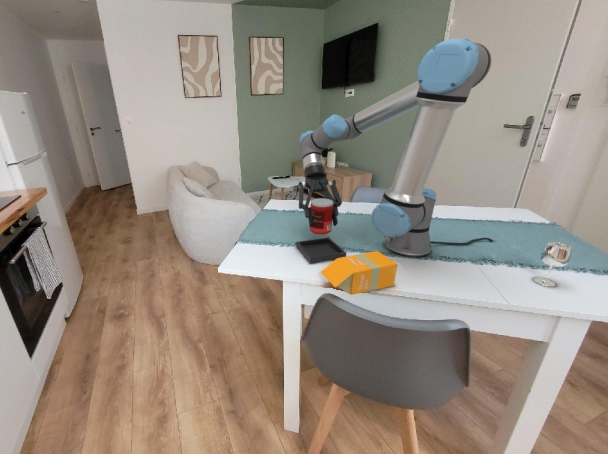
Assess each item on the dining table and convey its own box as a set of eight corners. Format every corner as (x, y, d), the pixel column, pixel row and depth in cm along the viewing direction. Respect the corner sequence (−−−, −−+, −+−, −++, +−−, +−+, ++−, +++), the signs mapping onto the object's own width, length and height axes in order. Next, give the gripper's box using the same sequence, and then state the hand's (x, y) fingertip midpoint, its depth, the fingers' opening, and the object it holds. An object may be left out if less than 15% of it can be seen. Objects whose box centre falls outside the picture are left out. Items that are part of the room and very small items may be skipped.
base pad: (328, 242, 115) (328, 237, 115) (345, 258, 103) (346, 252, 102) (296, 247, 113) (296, 241, 112) (310, 263, 101) (310, 258, 100)
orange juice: (393, 286, 87) (334, 299, 82) (374, 271, 95) (319, 282, 90) (398, 263, 84) (336, 275, 79) (377, 250, 92) (320, 260, 87)
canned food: (329, 226, 108) (331, 197, 104) (333, 235, 101) (335, 205, 96) (308, 226, 109) (309, 198, 104) (310, 235, 101) (312, 205, 97)
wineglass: (525, 277, 88) (539, 241, 83) (543, 276, 88) (558, 240, 83) (545, 288, 82) (561, 251, 78) (564, 286, 83) (580, 249, 78)
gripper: (338, 173, 112) (349, 227, 104) (285, 176, 112) (292, 230, 103) (344, 161, 105) (356, 219, 97) (288, 164, 105) (295, 222, 96)
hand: (323, 225), depth 100 cm, fingers closed on canned food, 8 cm apart
